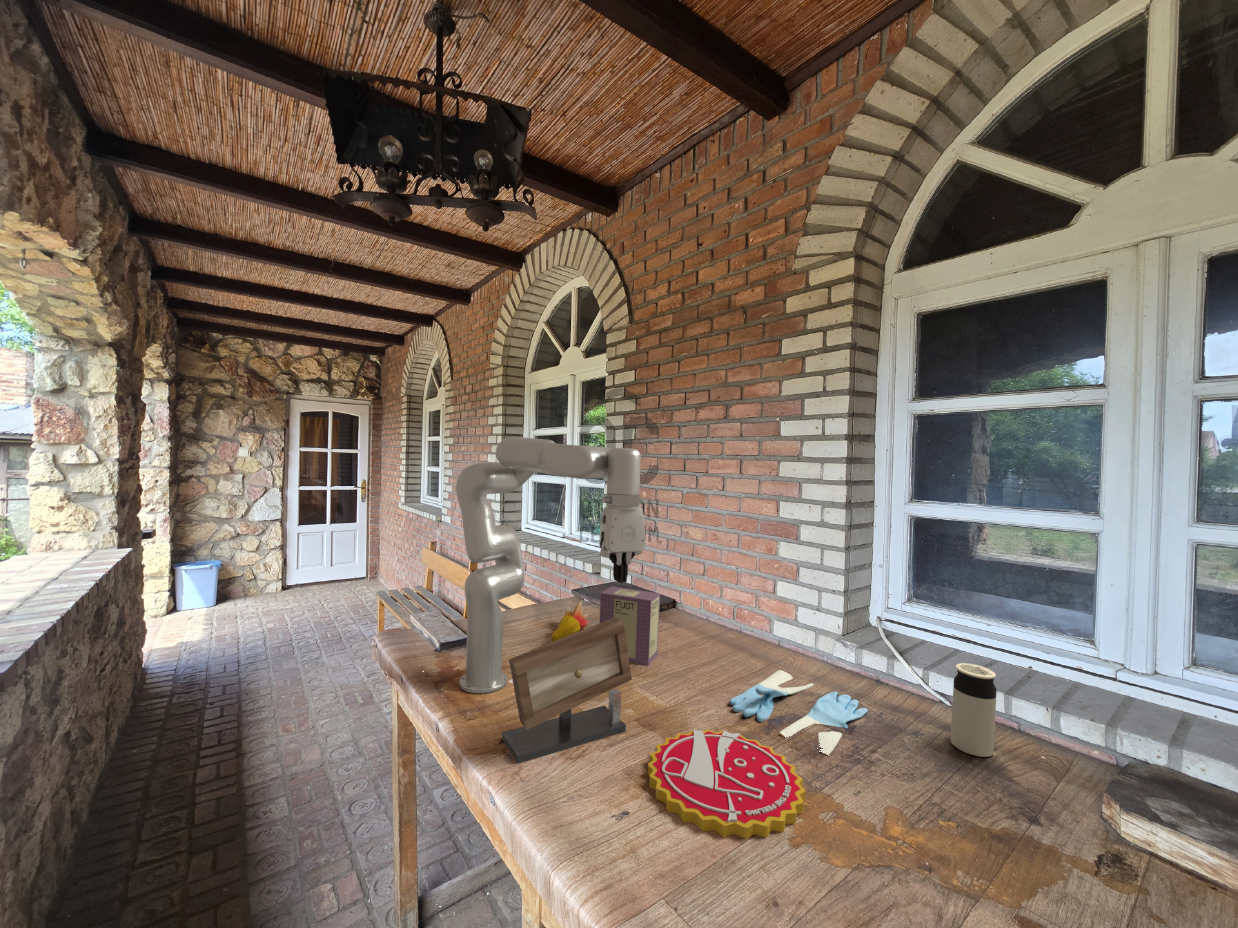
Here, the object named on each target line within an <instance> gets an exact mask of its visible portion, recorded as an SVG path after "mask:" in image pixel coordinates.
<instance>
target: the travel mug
mask: <svg viewBox="0 0 1238 928" xmlns="http://www.w3.org/2000/svg"><path fill="white" fill-rule="evenodd" d="M955 668H956V670H957V671H956V672H957V674H956V675H955V676H954V678H953V689H952V707H951V709H952V710H951V727H950V728H951V729H950V743H951V744H952V745H953V746H954V747H956V748H957V749H958V750H959V751H962V752H963V753H965V754H968V755H970V756H974V757H981V758H986V757H992V756H993V755H994V747H995V746H994V744H995V727H996V705H997V687H996V685H995V683H994V681H995V679H996V677H997V675H996V673H995V672H994V671H993V670H992V669H990V668H987V667H984V666H981V665H979V664H974V663H973V664H972V663H965V662H962V663H961V662H960V663H957V664H956V665H955Z"/></svg>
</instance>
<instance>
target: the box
mask: <svg viewBox="0 0 1238 928" xmlns="http://www.w3.org/2000/svg"><path fill="white" fill-rule="evenodd" d="M660 595H661V594H660V593H659V592H652V591H647V590H646V591H645V590H639V589H632V588H626V587H618V586H613V585H612V586H610V587H608V588H606V589H605V590H602V591H601V592H600V597H599V598H600V601H599V604H600V605H599V623H602V622H604V621H607V620H609V619H612V618H614V617H615V618H617V619H618V620H620V621H622V622H623V623H624V629H625V636H626V643H627V650H628V657H629V663H633V664H637V665H641V666H647V667H649V666H650V664H651V663H653V661H654V660H655V659H656V658H657V656H658V655H659V654H658V653H659V652H658V650H659V630H660V629H659V625H660V624H659V623H660V603H661V602H660V600H661V599H660V598H661V596H660Z"/></svg>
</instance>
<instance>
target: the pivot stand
mask: <svg viewBox="0 0 1238 928" xmlns="http://www.w3.org/2000/svg"><path fill="white" fill-rule="evenodd" d="M608 692H609V693H608V707H607V706H605V705H601V706H598V707H594V708H590V709H586V710H582V711H579V712H574V713H572V709H570V710H567V711H565V712H563V713H561V714H559V715H558V717H554V718H551V719H549V720H547V721H545V722H543V723H540V724H538V725H536V726H534V727H532V728H530V729H528V730H526V729H525V727H524V726H521V727H516V728H513V729H509V730H505V731H501V741H502V742H503V743H504V745H505V746H506V748H507V749H508V751H509V753H510V754H511V756H512V757H513V760H514V761H515V762H516V764H521V763H525V762H528V761H530V760H534V759H537V758H540V757H541V758H542V757H544V756H547V755H551V754H554V753H558V752H561V751H564V750H568V749H571V748H574V747H578V746H581V745H585V744H589V743H590V742H594V741H598V740H601V739H604V738H609V737H611V736H614V735H618V734H622V733H625V732H626V728H627V725H626V724H625V722H624V721H622V720H621V706H622V704H621V703H622V692H621V691H620V690H619V689H618V688H613V689H611V690H609V691H608Z"/></svg>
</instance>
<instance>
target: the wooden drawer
mask: <svg viewBox="0 0 1238 928" xmlns="http://www.w3.org/2000/svg"><path fill="white" fill-rule="evenodd" d="M508 662H509V668H510V673H511V678H512V685H513V690H514V695H515V701H516V708H517V712H518V718H519V722H520V724H521V725H523V726H522V727H525V729H526V730H528V729H530V728H532V727H534V726H536V725H538V724H540V723H543V722H545V721H547V720H551V719H554V718H556V717H557V716H559V714H561V713H563V712H565V711H567V710H570V709H571V710H572V709H574V708H575V707H577V706H580V705H582V704H584V703H585V702H586V703H587V702H588V701H590V700H592V699H594V698H596V697H599V696H601V695H604V694H605V693H607V692H609V690H613V689H616V688H617V687H619V686H621V685H623V684H625V683H628V682H630V681H632V679H633V677H632V671H631V665H630V663H631V662H629V657H628V650H627V643H626V636H625V629H624V623H623V622H622V621H620V620H618V619H617V618H615V617H614V618H612V619H609V620H607V621H604V622H602V623H600V622H599V623H597V624H595V625H591V626H589V627H587V628H586V627H585V628H584V629H582V630H579V632H576V633H574V634H571V635H569V636H566V637H564V638H561V639H559V640H556V641H554V642H552V641H551V642H549V643H546V644H544V645H542V646H539V647H537V648H534V649H531V650H529V651H527V652H524V653H522V654H519V655H516V656H514V657H511V658H509V659H508Z"/></svg>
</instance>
